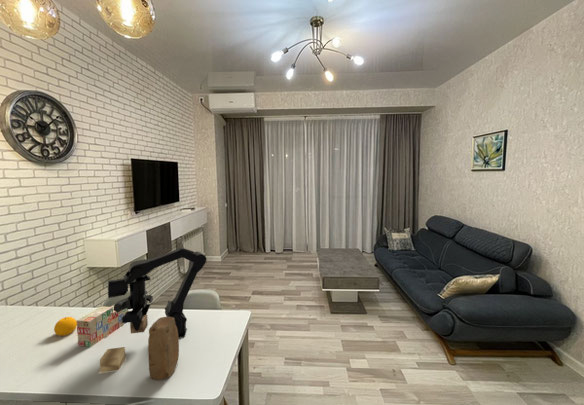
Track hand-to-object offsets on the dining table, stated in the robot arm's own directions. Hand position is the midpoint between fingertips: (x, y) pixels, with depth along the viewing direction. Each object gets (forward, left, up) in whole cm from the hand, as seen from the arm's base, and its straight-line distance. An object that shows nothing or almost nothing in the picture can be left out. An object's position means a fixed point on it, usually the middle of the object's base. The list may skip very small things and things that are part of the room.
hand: (139, 327), depth 109 cm
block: (-14, +18, -9) cm, 25 cm away
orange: (+37, -18, -9) cm, 42 cm away
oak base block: (+6, +11, -8) cm, 15 cm away
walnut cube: (0, 0, -1) cm, 1 cm away
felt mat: (+4, +9, -9) cm, 13 cm away
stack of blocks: (+19, -14, -9) cm, 26 cm away
